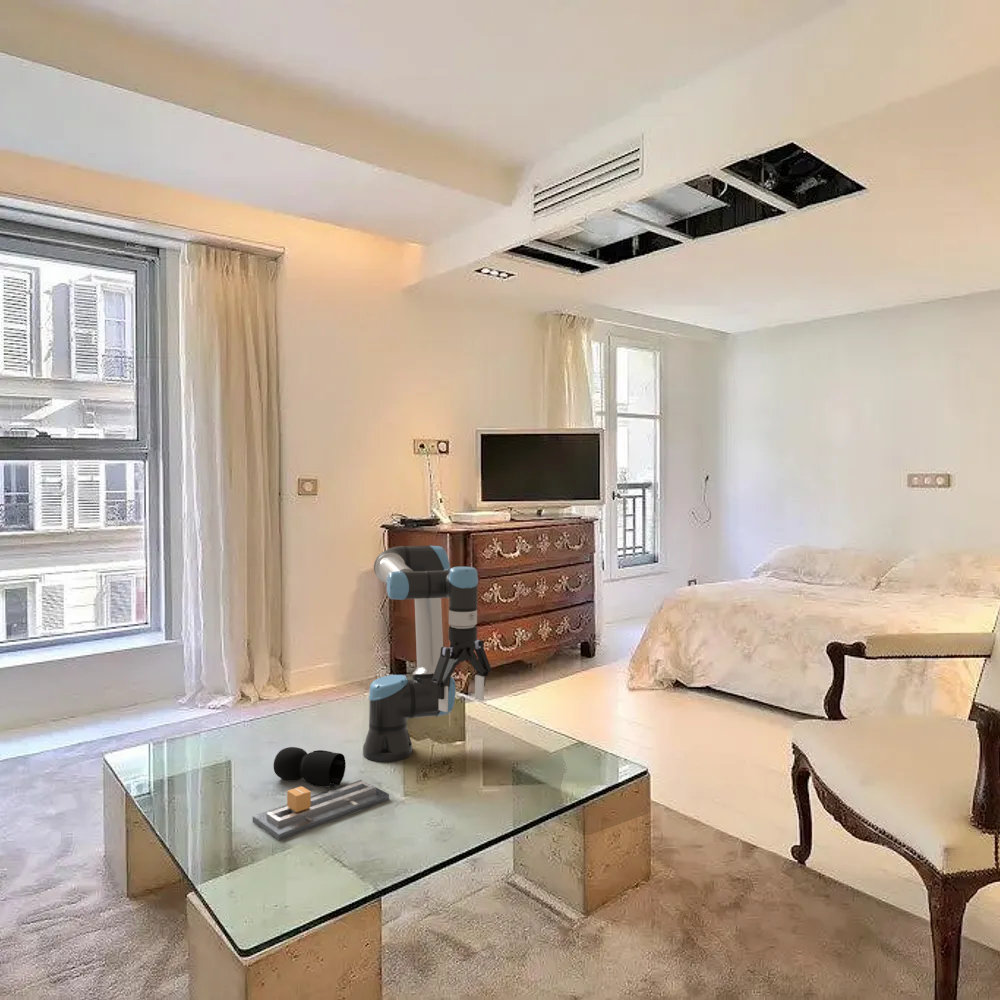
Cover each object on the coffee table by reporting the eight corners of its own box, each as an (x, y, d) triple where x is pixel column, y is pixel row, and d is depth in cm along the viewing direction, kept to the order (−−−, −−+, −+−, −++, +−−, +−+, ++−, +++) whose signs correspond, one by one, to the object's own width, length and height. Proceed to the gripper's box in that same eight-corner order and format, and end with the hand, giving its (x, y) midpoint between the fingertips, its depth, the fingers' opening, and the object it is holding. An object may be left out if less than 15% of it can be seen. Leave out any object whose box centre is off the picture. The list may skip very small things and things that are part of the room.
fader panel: (278, 840, 173) (278, 828, 173) (252, 822, 182) (252, 810, 182) (389, 799, 195) (389, 789, 195) (360, 785, 204) (360, 775, 204)
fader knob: (296, 817, 181) (296, 795, 180) (287, 811, 184) (287, 790, 184) (310, 812, 183) (310, 791, 183) (301, 806, 186) (301, 785, 186)
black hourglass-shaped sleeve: (351, 756, 209) (290, 747, 215) (336, 750, 201) (274, 742, 208) (343, 791, 205) (281, 781, 211) (328, 786, 197) (264, 776, 203)
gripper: (438, 634, 183) (437, 719, 184) (504, 621, 202) (503, 697, 202) (417, 630, 188) (417, 712, 189) (484, 617, 207) (483, 692, 207)
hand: (461, 705), depth 195 cm, fingers open, 13 cm apart
